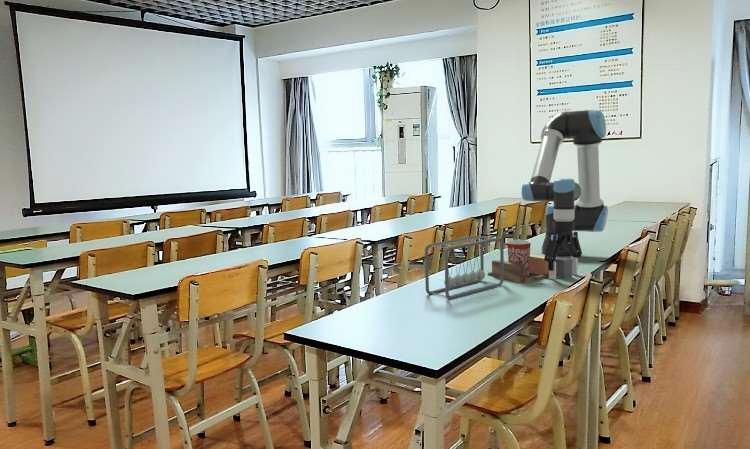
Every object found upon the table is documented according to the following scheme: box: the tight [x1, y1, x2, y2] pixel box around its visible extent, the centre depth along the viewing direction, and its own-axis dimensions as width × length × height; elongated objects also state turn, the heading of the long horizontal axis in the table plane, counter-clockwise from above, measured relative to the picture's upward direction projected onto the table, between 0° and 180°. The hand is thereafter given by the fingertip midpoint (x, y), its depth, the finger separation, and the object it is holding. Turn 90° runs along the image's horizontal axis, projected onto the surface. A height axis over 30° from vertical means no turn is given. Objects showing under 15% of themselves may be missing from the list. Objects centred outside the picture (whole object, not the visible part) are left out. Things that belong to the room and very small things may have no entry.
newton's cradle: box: [424, 234, 505, 300], centre depth 209 cm, size 30×10×18 cm, turn 130°
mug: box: [506, 239, 532, 279], centre depth 229 cm, size 13×9×14 cm
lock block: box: [554, 257, 573, 280], centre depth 225 cm, size 4×4×7 cm
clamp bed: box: [487, 259, 549, 284], centre depth 233 cm, size 29×18×6 cm, turn 125°
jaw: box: [529, 253, 549, 276], centre depth 234 cm, size 3×14×7 cm, turn 35°
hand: (563, 276), depth 225 cm, fingers open, 12 cm apart
